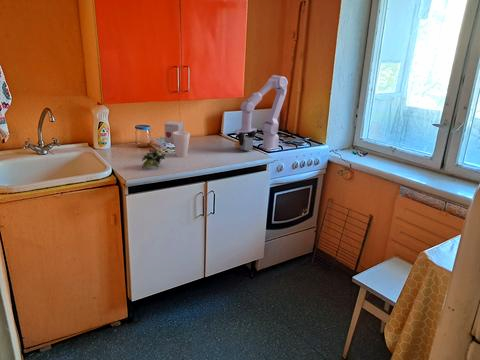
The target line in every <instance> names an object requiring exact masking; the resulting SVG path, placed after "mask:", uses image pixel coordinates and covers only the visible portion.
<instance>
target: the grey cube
mask: <svg viewBox="0 0 480 360" xmlns="http://www.w3.org/2000/svg"><path fill="white" fill-rule="evenodd" d="M253 146H254V138H251V137H248V135H246V136H244V139H243V146H241V145H240V144H239V148H240V149H241V150H244V151H246V150H252V149H254V148H253Z"/></svg>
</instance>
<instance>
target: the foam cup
mask: <svg viewBox="0 0 480 360" xmlns="http://www.w3.org/2000/svg"><path fill="white" fill-rule="evenodd" d="M190 135H191V132H189V131H187V130H184V131H175V132H173V139H174V146H175V149H174V152H175V156H176V157H178V158H185V157H187V156H188V151H189V143H190V137H191V136H190Z"/></svg>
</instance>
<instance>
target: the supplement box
mask: <svg viewBox="0 0 480 360" xmlns="http://www.w3.org/2000/svg"><path fill="white" fill-rule="evenodd" d="M175 131H185V130H184V121H175V120H169V121H167V122H165V123H164V143H165V142H166V143H171V144H174V139H173V132H175Z"/></svg>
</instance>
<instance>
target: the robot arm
mask: <svg viewBox="0 0 480 360" xmlns="http://www.w3.org/2000/svg"><path fill="white" fill-rule="evenodd" d="M288 84H289V82H288V79H287V78H286V77H285V76H281V75H276V74H273V75H271V76H270V78H268V80H267V82H266V83H265V84H264V85H263V86H262V87H261V88H260V89H259V91H257V92H253V93H252V94H251V96H250V97H249V98H247V99H246V100H244V101H243V102H241V105H240V107H239V108H240V110H241V128H240V129H237V130H235V132H234V134H235V135H236V136H237V137H236V138H238V140H239V144H240V145H241V146H243V139H244V136H245V134H247V136H248V137H251V138H253V139H254V137H255V136H256V135H257V134H256V133H257V132H258V131H257V128H256V127H252V115H253V112H254V110H255V108H256V106H257V105H258V104H259V103H260V102H261V101H262V100H263V97H264V95H266V94H267V93H268V92H269V91H270V90H272V89H274V90H275V91H276V94H275V97H274V100H273V102H272V103H273V104H272V105H271V106H272V107H271V110H270V112H269V115H268V117H267V118H265V119H264V123H263V122H262V125H261V130H262V133H263V138H262V139H263V141H262V145H261V146H259V148H261V149H264V150H267V151H269V150H277V149H280V147H279V141H280V137H279V135H278V132H279V125H280V124H279V122H278V119H279V116H280V112H281V111H282V107H283V104H284V101H285V98H286V95H287V92H288V90H287V88H288ZM238 140H237V141H238Z"/></svg>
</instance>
